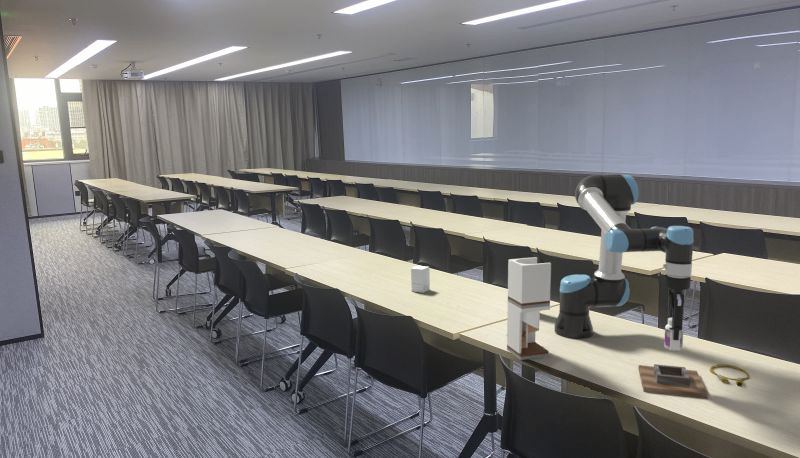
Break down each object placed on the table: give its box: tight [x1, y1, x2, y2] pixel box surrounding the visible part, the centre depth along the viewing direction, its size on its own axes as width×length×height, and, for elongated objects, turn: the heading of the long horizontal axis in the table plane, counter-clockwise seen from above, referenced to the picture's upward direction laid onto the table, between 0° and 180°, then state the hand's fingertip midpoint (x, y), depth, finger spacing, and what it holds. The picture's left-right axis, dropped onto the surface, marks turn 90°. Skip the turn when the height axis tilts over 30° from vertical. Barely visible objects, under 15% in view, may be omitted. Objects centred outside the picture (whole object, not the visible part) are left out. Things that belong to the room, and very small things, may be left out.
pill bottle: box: [663, 317, 685, 352], centre depth 183 cm, size 5×5×10 cm
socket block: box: [638, 363, 708, 399], centre depth 186 cm, size 18×18×4 cm
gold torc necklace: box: [709, 364, 750, 387], centre depth 191 cm, size 12×16×2 cm
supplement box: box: [410, 265, 431, 294], centre depth 300 cm, size 7×7×13 cm
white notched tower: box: [506, 256, 552, 361], centre depth 210 cm, size 11×11×35 cm
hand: (673, 345), depth 184 cm, fingers closed on pill bottle, 5 cm apart
